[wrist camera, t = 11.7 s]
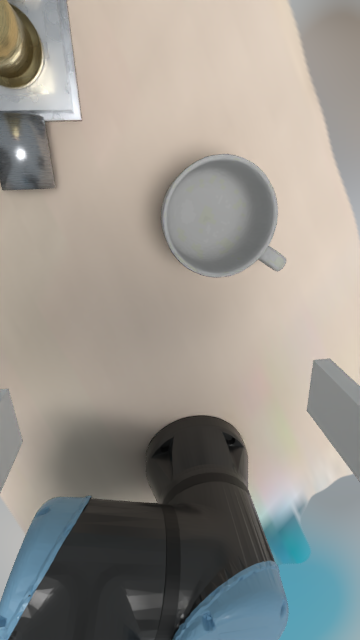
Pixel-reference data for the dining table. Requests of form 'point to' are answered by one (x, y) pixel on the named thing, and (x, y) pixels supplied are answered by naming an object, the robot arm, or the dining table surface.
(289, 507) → the dining table surface
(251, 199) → the teacup
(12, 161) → the flange seat
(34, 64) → the cylinder
